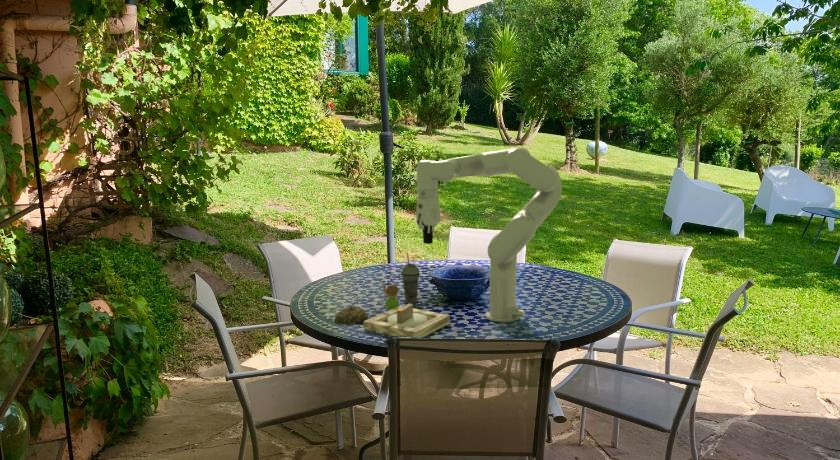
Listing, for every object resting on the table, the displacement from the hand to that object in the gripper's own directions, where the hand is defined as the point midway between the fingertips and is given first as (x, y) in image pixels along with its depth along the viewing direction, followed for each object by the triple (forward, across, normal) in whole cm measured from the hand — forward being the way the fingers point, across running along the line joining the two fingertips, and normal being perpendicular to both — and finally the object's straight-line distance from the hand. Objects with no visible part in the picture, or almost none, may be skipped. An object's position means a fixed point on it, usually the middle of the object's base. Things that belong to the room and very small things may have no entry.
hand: (428, 243), depth 243 cm
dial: (+26, -17, -2) cm, 31 cm away
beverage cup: (+27, +10, +15) cm, 33 cm away
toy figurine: (+27, -5, +14) cm, 31 cm away
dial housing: (+27, -17, -2) cm, 32 cm away
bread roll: (+28, -20, +21) cm, 40 cm away
